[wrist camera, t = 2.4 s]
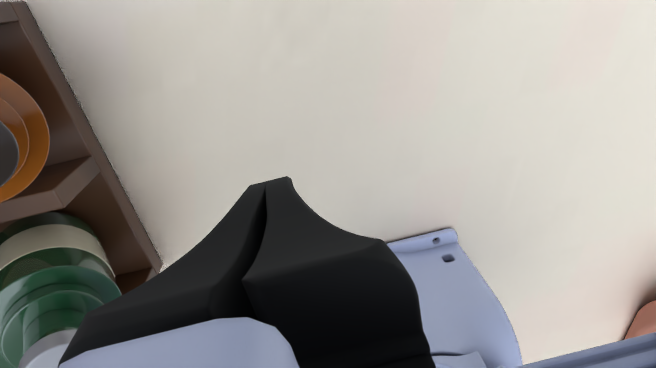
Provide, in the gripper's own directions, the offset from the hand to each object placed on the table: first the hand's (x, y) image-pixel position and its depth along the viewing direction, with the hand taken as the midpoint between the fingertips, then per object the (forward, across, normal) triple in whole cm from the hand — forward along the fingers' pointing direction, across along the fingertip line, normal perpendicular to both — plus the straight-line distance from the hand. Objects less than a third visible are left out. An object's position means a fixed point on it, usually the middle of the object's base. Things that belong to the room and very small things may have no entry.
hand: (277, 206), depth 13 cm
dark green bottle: (+8, +14, +4) cm, 17 cm away
